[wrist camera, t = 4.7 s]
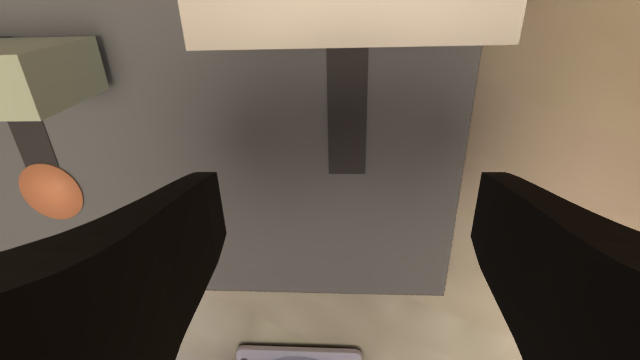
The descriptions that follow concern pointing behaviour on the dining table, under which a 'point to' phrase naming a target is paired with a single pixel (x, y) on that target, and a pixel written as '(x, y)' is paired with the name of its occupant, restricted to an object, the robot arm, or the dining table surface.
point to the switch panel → (253, 148)
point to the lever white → (348, 23)
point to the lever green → (48, 75)
